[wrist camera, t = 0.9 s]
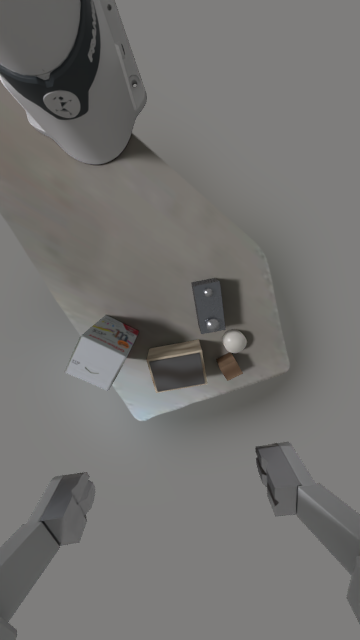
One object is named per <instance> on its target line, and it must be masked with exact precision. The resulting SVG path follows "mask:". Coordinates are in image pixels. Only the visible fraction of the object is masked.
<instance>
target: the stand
mask: <svg viewBox="0 0 360 640" xmlns="http://www.w3.org/2000/svg"><path fill="white" fill-rule="evenodd" d="M147 363H148V367H149V370H150V374H151V377H152V380H153V384H154V387H155V390H156V393H158V392H164V391H170V390H176V389H181V388H187V387H193V386H199V385H205V384H207V378H206V372H205V367H204V361H203V355H202V349H201V346H200V342H199V340H193V341H188V342H182V343H177V344H171V345H166V346H161V347H155V348H150V349H149V352H148V356H147Z"/></svg>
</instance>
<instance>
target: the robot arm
mask: <svg viewBox="0 0 360 640" xmlns="http://www.w3.org/2000/svg"><path fill="white" fill-rule="evenodd" d="M0 80H1V82H2V83H3V85H4V86H5V87H6V89H7V90H8V91H9V92H10V93H11V94H12V95H13V97H14V98H15V99H16V100H17V101H18V102H19V103H20V105H21V106H22V107H23V108H24V109H25V110H26V113H27V118H28V120H29V122H30V124H31V125H32V126H33V127H34V128H35V129H36V130H37V131H39V132H40V133H42V134H44V135H46V136H48V137H50V138H52V139H53V140H54V141H55V142H56V143H57V144H58V145H59V146H60V147H61V148H62V149H63V150H64V151H65V152H66V153H67V154H69V155H70V156H71V157H73V158H75V159H76V160H78V161H81V162H84V163H87V164H103V163H107V162H109V161H111V160H113V159H114V158H116V157H117V156H118V155H119V154H120V153H121V152H122V151H123V150H124V148H125V147H126V145H127V143H128V141H129V139H130V136H131V133H132V129H133V125H134V122H135V119H136V117H137V116H138V114H139V113H140V112H141V110H142V109H143V107H144V106H145V103H146V99H147V96H146V92H145V89H144V86H143V83H142V80H141V77H140V74H139V71H138V68H137V65H136V62H135V59H134V56H133V54H132V50H131V48H130V45H129V42H128V39H127V36H126V33H125V30H124V27H123V24H122V21H121V18H120V16H119V13H118V9H117V6H116V3H115V1H114V0H0ZM133 84H137V86H136V87H133ZM255 449H256V454H257V458H256V463H257V468H258V472H259V475H260V478H261V480H262V483H263V484H264V485H265V486H266V487H267V495H268V499H269V501H270V504H271V506H272V509H273V511H274V514H275V516H285V515H295V514H297V516H298V518H299V519H300V520H301V521H302V522H303V523H304V524H305V525H306V526H307V527H308V528H309V530H310V531H311V532H312V533H313V534H314V535H315V536H316V537H317V538H318V539H319V540H320V542H321V543H322V544H323V545H324V546H325V547H326V548H327V549H328V550H329V551H330V552H331V554H332V555H333V556H334V557H335V558H336V559H337V560H338V561H339V562H340V563H341V565H342V566H343V567H344V568H345V569H346V570H347V571H348V572H349V573H350V574H351V575H352V576H351V580H350V584H349V588H348V594H347V599H348V601H349V604H350V606H351V608H352V610H353V612H354V614H355V616H356V618H357V620H358V622H359V624H360V514H359V513H357V512H356V511H355V510H353V509H352V508H351V507H350V506H348V505H347V504H346V503H344V502H343V501H342V500H340V499H339V498H338V497H337V496H335V495H334V494H333V493H332V492H330V491H329V490H328V489H326V488H325V487H324V486H323V485H321V484H320V483H315V481H314V480H313V478H312V477H311V475H310V473H309V472H308V470H307V469H306V467H305V466H304V464H303V462H302V461H301V459H300V457H299V456H298V454H297V453H296V451H295V449H294V448H293V446H292V445H291V444H290V443H289V442H283V443H275V444H269V445H263V446H257V447H256V448H255ZM88 479H89V475H88V473H87V472H84V473H77V474H70V475H62V476H56V477H54V478H53V479H52V480H51V481H50V483H49V485H48V487H47V488H46V490H45V492H44V493H43V495H42V497H41V499H40V500H39V502H38V504H37V506H36V507H35V509H34V511H33V513H32V514H31V516H30V518H29V520H28V522H27V523H26V524H23V525H22V526H21V527H20V528H19V529H18V530H17V531H16V532H15V533H14V534H13V535H12V536H11V537H10V538H9V539H8V540H7V541H6V542H5V543H4V544H3V545H2V546H1V547H0V640H16V637H17V630H16V629H15V628H14V627H13V626H11V625H10V624H9V623H8V622H9V620H10V619H11V617H12V616H13V615H14V613H15V612H16V610H17V609H18V607H19V606H20V604H21V603H22V602H23V600H24V599H25V597H26V596H27V594H28V593H29V591H30V590H31V588H32V587H33V586H34V584H35V583H36V581H37V580H38V579H39V577H40V576H41V574H42V573H43V571H44V570H45V568H46V567H47V566H48V564H49V563H50V561H51V560H52V558H53V557H54V555H55V554H56V553H57V551H58V550H59V548H60V546H62V545H68V544H73V543H79V541H80V539H81V536H82V533H83V531H84V528H85V525H86V522H87V519H86V514H87V512H88V511H89V510H90V509H91V507H92V504H93V501H94V496H95V486H94V484H93V482H91V481H89V480H88Z"/></svg>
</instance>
